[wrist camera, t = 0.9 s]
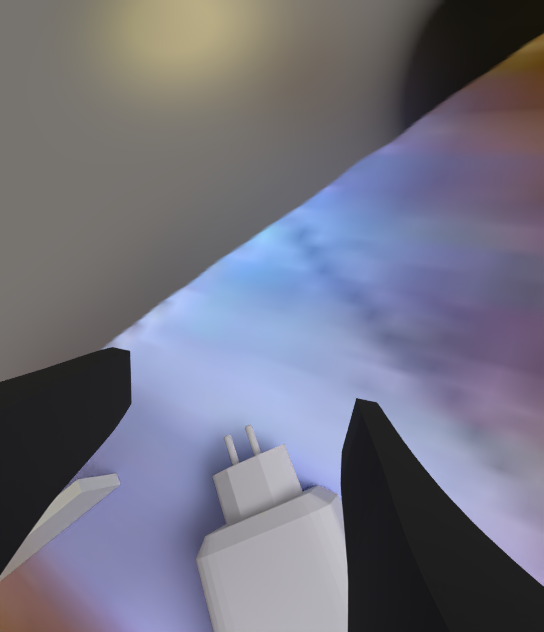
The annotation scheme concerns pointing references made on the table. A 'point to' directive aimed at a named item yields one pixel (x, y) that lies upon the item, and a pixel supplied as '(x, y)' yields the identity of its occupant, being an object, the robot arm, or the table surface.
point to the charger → (274, 550)
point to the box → (63, 515)
